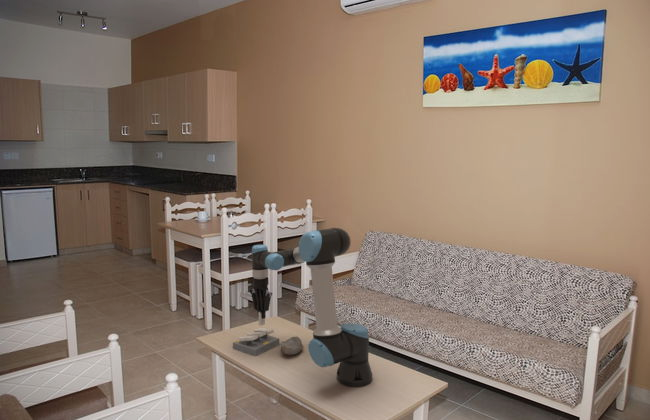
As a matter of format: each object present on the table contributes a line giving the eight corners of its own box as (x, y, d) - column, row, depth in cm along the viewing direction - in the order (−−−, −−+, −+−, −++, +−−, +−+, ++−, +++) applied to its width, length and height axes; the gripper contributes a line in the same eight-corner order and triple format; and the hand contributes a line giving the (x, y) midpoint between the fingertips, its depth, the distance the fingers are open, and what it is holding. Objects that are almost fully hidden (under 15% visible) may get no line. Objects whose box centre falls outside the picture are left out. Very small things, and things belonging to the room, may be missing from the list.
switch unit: (279, 344, 245) (279, 334, 244) (255, 356, 231) (255, 346, 230) (257, 337, 253) (257, 328, 253) (232, 348, 240) (232, 339, 239)
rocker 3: (273, 332, 244) (273, 329, 244) (268, 335, 242) (268, 331, 241) (259, 331, 250) (258, 327, 250) (254, 333, 248) (253, 330, 247)
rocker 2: (266, 334, 240) (265, 331, 240) (261, 337, 237) (260, 333, 237) (252, 335, 246) (251, 332, 246) (246, 338, 243) (246, 334, 243)
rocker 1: (258, 338, 236) (257, 335, 236) (252, 341, 233) (252, 337, 233) (244, 339, 242) (243, 336, 242) (238, 341, 239) (237, 338, 239)
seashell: (294, 334, 245) (279, 326, 233) (311, 345, 238) (297, 337, 227) (284, 351, 243) (268, 343, 231) (301, 363, 236) (286, 355, 224)
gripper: (275, 277, 236) (277, 324, 239) (256, 273, 244) (257, 319, 247) (264, 280, 230) (266, 329, 233) (245, 276, 238) (246, 324, 241)
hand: (261, 324), depth 240 cm, fingers closed
